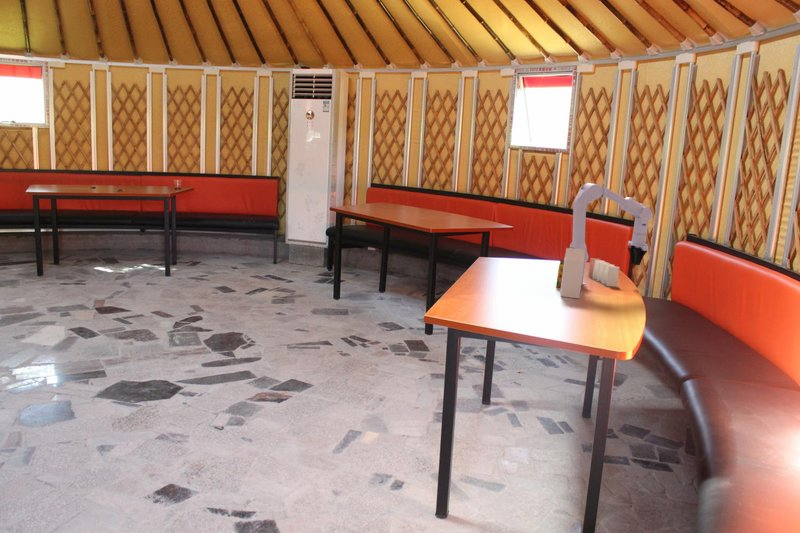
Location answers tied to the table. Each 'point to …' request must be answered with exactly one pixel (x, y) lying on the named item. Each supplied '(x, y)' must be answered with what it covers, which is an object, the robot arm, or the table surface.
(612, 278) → the tile
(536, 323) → the table surface
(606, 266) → the tile
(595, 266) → the tile
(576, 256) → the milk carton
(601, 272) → the tile
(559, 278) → the crayon box
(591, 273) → the tile
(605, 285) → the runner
